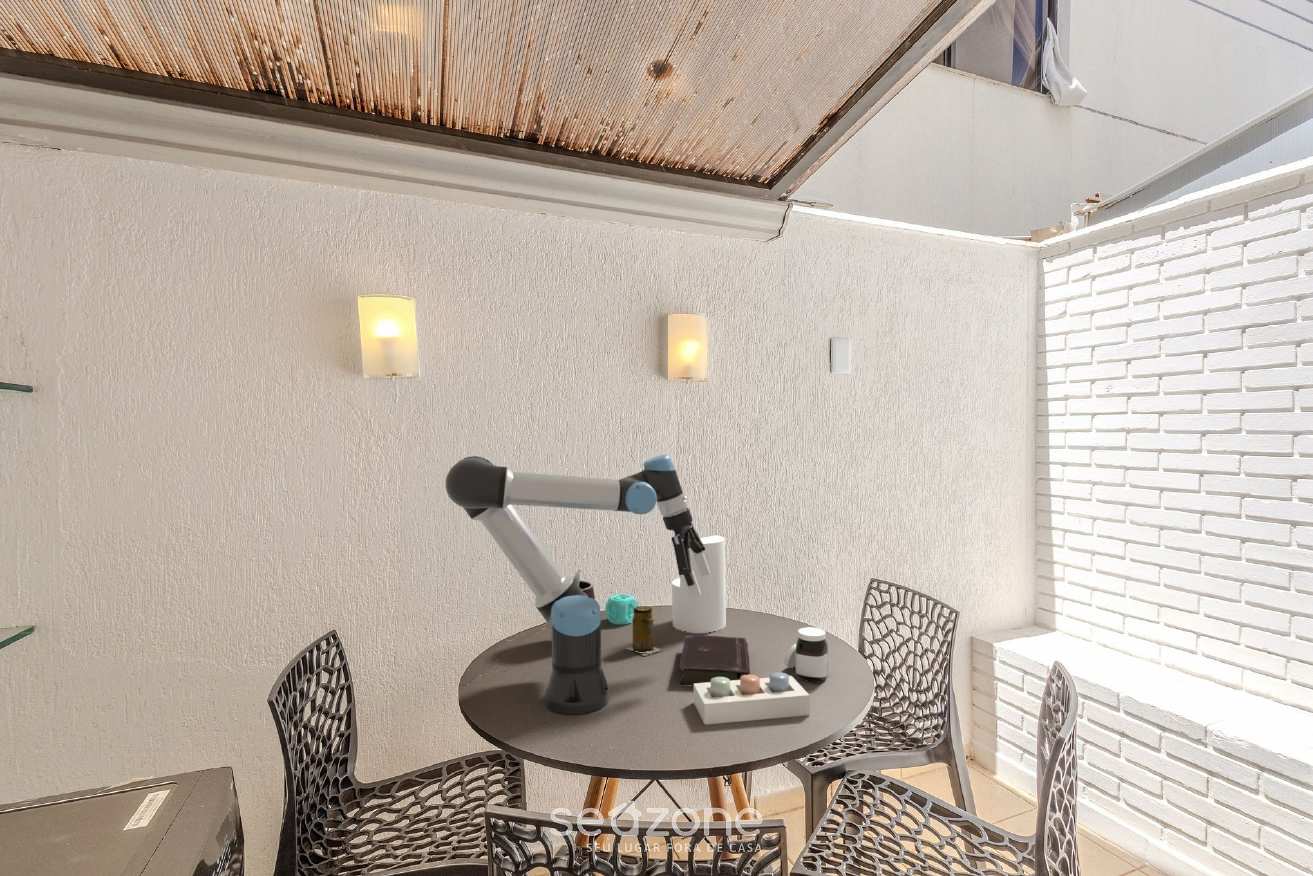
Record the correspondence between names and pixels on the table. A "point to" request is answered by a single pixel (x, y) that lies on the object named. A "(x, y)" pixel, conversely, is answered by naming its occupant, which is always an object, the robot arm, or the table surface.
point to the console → (751, 703)
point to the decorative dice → (620, 609)
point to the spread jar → (809, 655)
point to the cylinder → (702, 592)
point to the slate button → (779, 682)
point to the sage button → (720, 687)
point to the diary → (713, 658)
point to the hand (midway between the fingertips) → (701, 584)
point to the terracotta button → (749, 684)
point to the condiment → (642, 630)
